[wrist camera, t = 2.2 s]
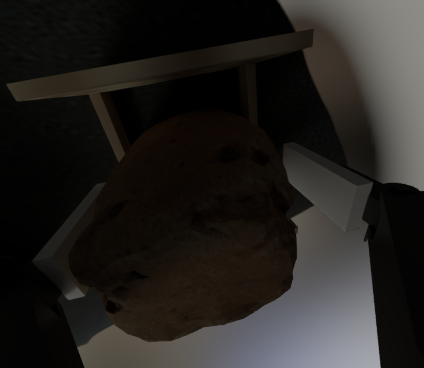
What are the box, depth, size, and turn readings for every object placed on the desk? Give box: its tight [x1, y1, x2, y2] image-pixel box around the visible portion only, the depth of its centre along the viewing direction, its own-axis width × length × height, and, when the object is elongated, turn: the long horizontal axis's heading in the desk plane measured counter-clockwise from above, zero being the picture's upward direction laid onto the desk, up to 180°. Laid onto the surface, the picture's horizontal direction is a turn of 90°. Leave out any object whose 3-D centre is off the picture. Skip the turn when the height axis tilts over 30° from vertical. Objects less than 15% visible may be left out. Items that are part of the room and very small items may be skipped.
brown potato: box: [68, 107, 297, 342], centre depth 15 cm, size 11×8×20 cm
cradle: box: [6, 29, 314, 234], centre depth 19 cm, size 16×16×12 cm
